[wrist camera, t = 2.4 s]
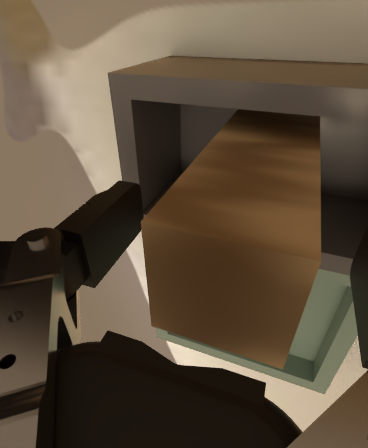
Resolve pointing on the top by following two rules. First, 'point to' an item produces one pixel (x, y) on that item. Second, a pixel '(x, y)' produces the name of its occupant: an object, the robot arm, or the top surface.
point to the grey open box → (247, 100)
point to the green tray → (304, 337)
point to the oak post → (240, 237)
